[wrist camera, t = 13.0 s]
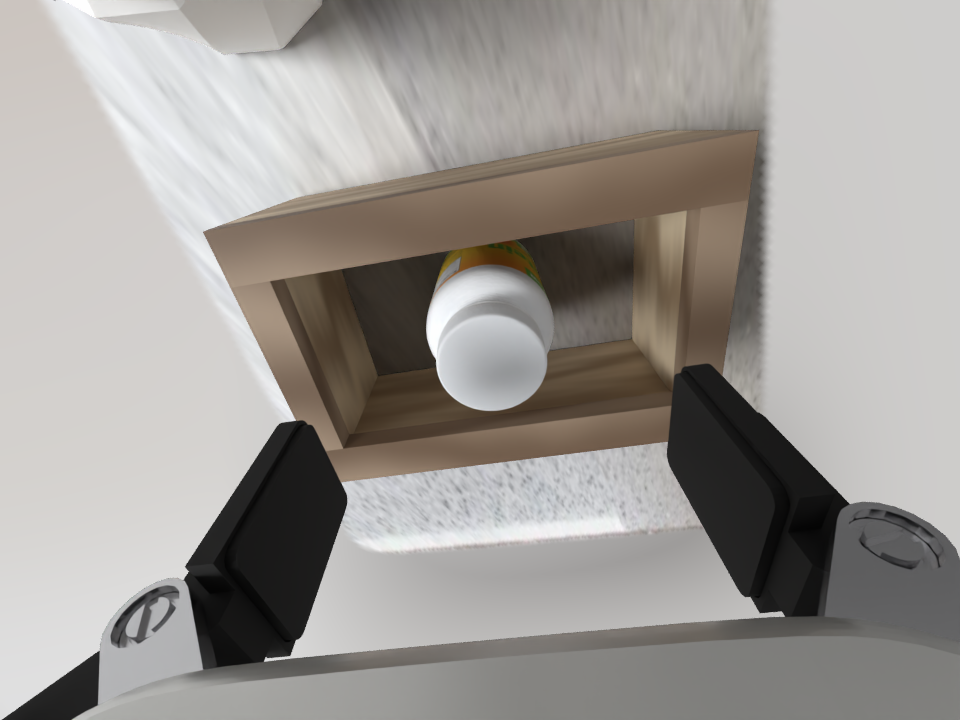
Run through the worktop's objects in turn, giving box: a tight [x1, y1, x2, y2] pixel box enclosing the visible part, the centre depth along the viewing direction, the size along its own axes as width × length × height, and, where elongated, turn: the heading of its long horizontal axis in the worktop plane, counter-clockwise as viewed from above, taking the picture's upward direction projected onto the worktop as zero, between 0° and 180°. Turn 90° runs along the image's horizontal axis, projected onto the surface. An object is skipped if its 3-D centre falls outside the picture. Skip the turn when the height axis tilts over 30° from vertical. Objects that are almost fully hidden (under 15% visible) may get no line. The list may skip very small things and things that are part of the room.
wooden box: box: [203, 130, 759, 482], centre depth 19 cm, size 12×18×8 cm, turn 99°
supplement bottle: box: [426, 240, 554, 411], centre depth 18 cm, size 5×5×10 cm
